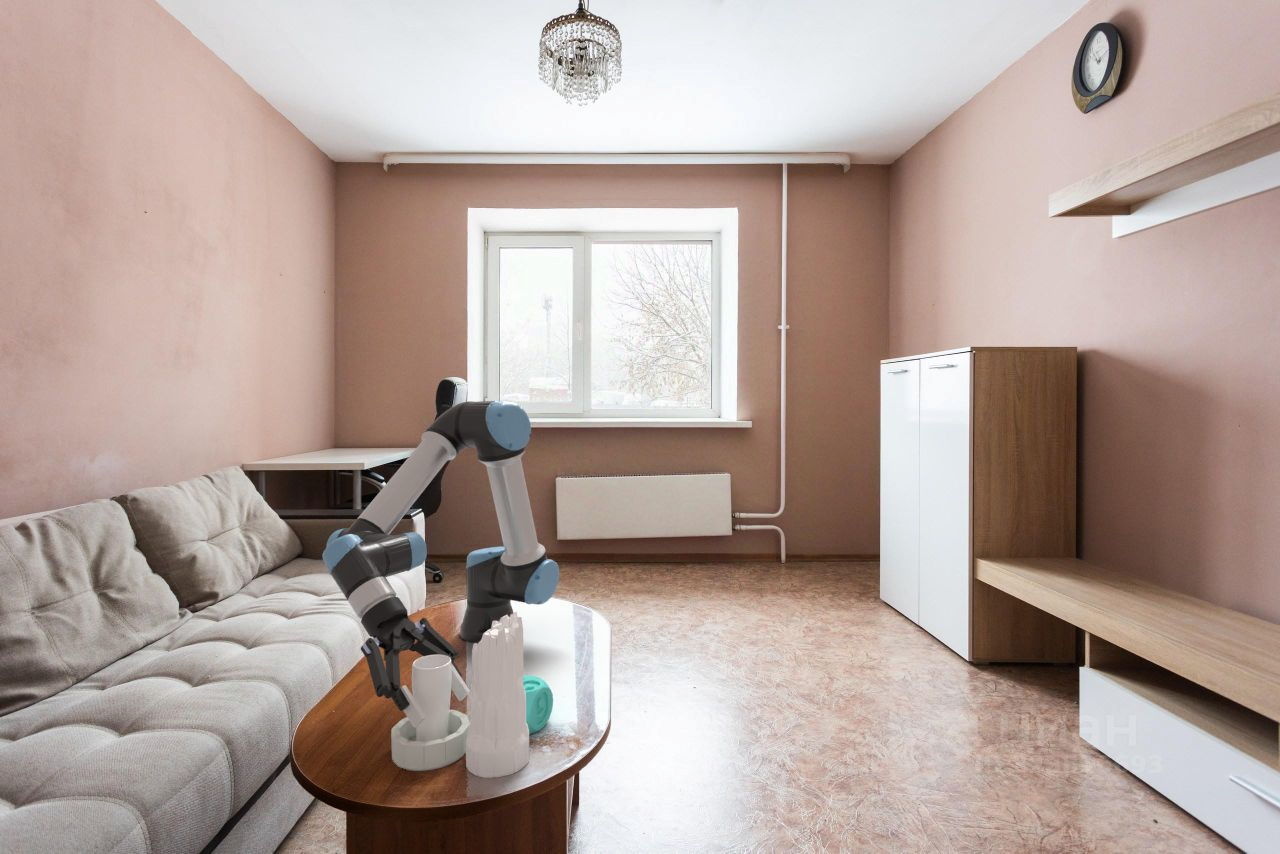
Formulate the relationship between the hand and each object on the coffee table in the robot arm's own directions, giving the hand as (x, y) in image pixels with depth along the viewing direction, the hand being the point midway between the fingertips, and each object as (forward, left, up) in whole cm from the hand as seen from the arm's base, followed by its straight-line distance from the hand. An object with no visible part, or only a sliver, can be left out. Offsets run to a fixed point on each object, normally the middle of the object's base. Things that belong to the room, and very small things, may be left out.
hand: (443, 709), depth 111 cm
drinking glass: (0, -3, -7) cm, 8 cm away
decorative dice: (-16, +4, -8) cm, 18 cm away
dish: (+1, -3, -8) cm, 9 cm away
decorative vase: (-4, +9, -8) cm, 13 cm away
